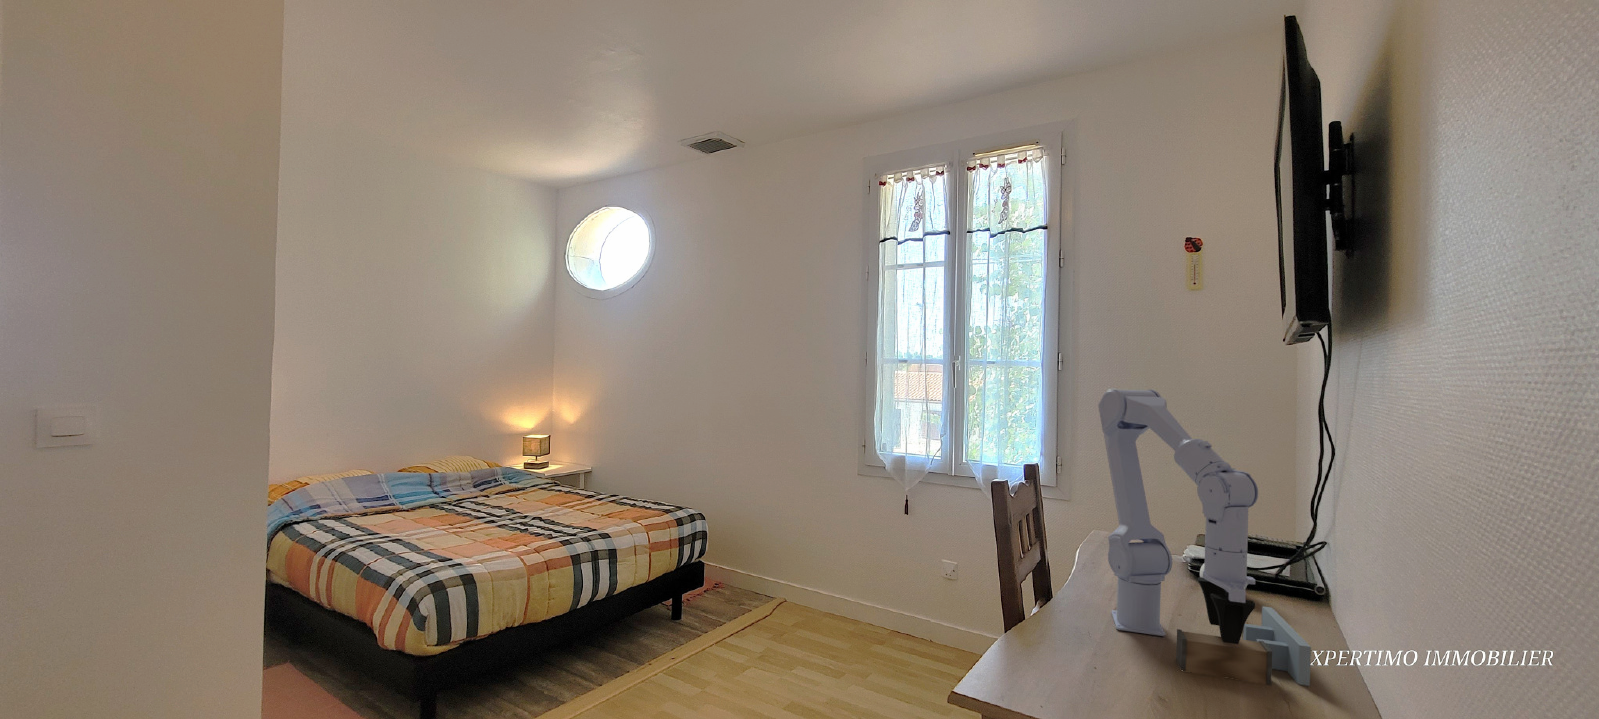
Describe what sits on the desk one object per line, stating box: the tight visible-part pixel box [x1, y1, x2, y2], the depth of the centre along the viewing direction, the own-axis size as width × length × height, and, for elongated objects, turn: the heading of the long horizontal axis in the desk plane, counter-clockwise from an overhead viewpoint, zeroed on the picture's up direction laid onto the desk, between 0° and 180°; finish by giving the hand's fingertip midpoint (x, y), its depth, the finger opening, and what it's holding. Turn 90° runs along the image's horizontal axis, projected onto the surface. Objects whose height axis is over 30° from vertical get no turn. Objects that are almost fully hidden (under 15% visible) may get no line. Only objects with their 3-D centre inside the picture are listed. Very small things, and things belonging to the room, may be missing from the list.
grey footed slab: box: [1242, 605, 1312, 687], centre depth 114 cm, size 18×6×6 cm, turn 161°
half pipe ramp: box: [1175, 628, 1273, 686], centre depth 108 cm, size 12×4×5 cm, turn 71°
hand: (1223, 633), depth 108 cm, fingers open, 7 cm apart
